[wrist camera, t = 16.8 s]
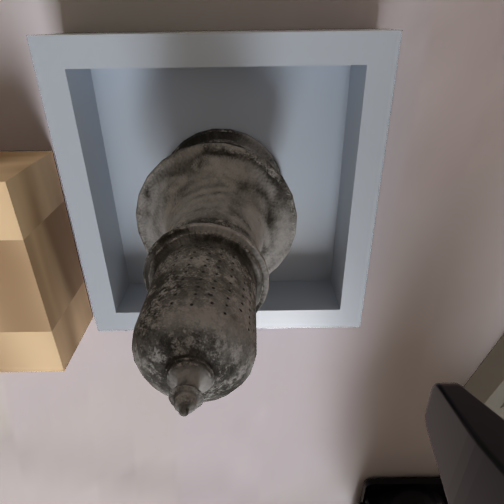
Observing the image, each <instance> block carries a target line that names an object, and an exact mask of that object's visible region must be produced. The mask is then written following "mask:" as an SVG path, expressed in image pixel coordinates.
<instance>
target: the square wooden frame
mask: <svg viewBox="0 0 504 504" xmlns="http://www.w3.org/2000/svg"><path fill="white" fill-rule="evenodd" d="M92 318H93V315H92V311H91V307H90V303H89V298H88V294H87V290H86V286H85V282H84V278H83V274H82V270H81V266H80V262H79V258H78V254H77V249H76V245H75V241H74V237H73V233H72V229H71V225H70V221H69V217H68V213H67V209H66V205H65V200H64V196H63V192H62V188H61V184H60V180H59V176H58V172H57V168H56V164H55V160H54V155H53V151H6V152H0V372H55V371H65V369H66V367H67V365H68V363H69V361H70V359H71V358H72V356H73V354H74V352H75V350H76V348H77V346H78V344H79V342H80V341H81V339H82V337H83V335H84V333H85V331H86V329H87V327H88V325H89V324H90V322H91V320H92Z"/></svg>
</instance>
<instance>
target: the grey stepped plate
mask: <svg viewBox="0 0 504 504" xmlns="http://www.w3.org/2000/svg"><path fill="white" fill-rule="evenodd" d="M464 388H465V389H466V390H468V391H469V392H470V393H471V394H473V395H474V396H475V397H476V398H478V399H479V400H480V401H481V402H483V403H484V404H485V405H486V406H488V407H489V408H490V409H491V410H493V411H494V412H495V413H496V414H498V415H499V416H500V417H501V418H503V419H504V334H503V336H502V337H501V338H500V340H499V341H498V342H497V344H496V345H495V346H494V348H493V349H492V350H491V352H490V353H489V354H488V356H487V357H486V358H485V359H484V361H483V362H482V363H481V365H480V366H479V367H478V369H477V370H476V371H475V373H474V374H473V375H472V377H471V378H470V379H469V381H468V382H467V383H466V385H465V386H464Z"/></svg>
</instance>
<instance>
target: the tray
mask: <svg viewBox="0 0 504 504" xmlns="http://www.w3.org/2000/svg"><path fill="white" fill-rule="evenodd" d="M401 36H402V30H388V29H336V30H266V31H195V32H124V33H61V34H44V35H27V41H28V45H29V49H30V53H31V57H32V61H33V65H34V69H35V74H36V78H37V82H38V86H39V90H40V94H41V98H42V102H43V107H44V111H45V115H46V119H47V123H48V127H49V131H50V135H51V139H52V144H53V148H54V152H55V156H56V160H57V164H58V168H59V172H60V177H61V181H62V185H63V189H64V193H65V197H66V201H67V205H68V210H69V214H70V218H71V222H72V226H73V230H74V234H75V238H76V243H77V247H78V251H79V255H80V259H81V263H82V267H83V271H84V276H85V280H86V284H87V288H88V292H89V296H90V300H91V304H92V309H93V313H94V317H95V321H96V325H97V329H98V331H115V330H134V327H135V324H136V322H137V319H138V317H139V314H140V311H141V309H142V306H143V304H144V301H145V298H146V296H147V293H148V292H147V290H146V288H145V282H144V276H143V271H144V265H145V259H146V257H147V255H148V252H147V251H146V249H145V247H144V244H143V242H142V240H141V238H140V235H139V233H138V227H137V220H136V208H137V201H138V195H139V192H140V190H141V188H142V186H143V184H144V182H145V180H146V178H147V176H148V175H149V174H150V172H151V171H152V170H153V169H154V168H155V167H156V166H157V165H158V164H159V163H160V162H161V161H162V160H163V159H165V158H166V157H168V156H170V155H171V154H172V152H173V151H174V150H175V149H176V148H177V147H178V146H179V145H180V144H181V143H182V142H183V141H184V140H186V139H187V138H189V137H191V136H192V135H194V134H196V133H198V132H202V131H206V130H210V129H232V130H236V131H239V132H243V133H246V134H248V135H249V136H251V137H253V138H254V139H256V140H258V141H260V142H261V143H262V144H263V145H264V146H265V147H266V148H267V149H268V150H269V151H270V152H271V153H272V155H273V157H274V159H275V161H276V163H277V164H278V166H279V169H280V173H281V175H282V176H283V178H284V180H285V182H286V183H287V185H288V187H289V189H290V191H291V192H292V194H293V199H294V203H295V208H296V212H297V224H296V235H295V237H294V240H293V243H292V246H291V248H290V251H289V253H288V254H287V255H286V257H285V258H284V259H283V261H282V262H281V264H280V265H279V266H278V267H277V268H276V269H275V270H273V271H272V272H271V273H270V274H269V290H268V293H267V296H266V299H265V302H264V303H263V305H262V306H261V307H260V309H259V310H258V312H257V313H256V329H259V328H331V327H360V324H361V317H362V310H363V303H364V296H365V289H366V282H367V275H368V268H369V261H370V254H371V247H372V240H373V233H374V226H375V219H376V211H377V204H378V197H379V190H380V183H381V176H382V169H383V162H384V155H385V148H386V141H387V134H388V127H389V120H390V113H391V106H392V99H393V92H394V85H395V78H396V71H397V64H398V57H399V50H400V43H401Z"/></svg>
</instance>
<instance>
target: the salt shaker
mask: <svg viewBox="0 0 504 504" xmlns="http://www.w3.org/2000/svg"><path fill="white" fill-rule="evenodd" d="M136 220H137V227H138V233H139V235H140V238H141V240H142V242H143V244H144V247H145V249H146V251H147V252H148V255H147V257H146V259H145V265H144V271H143V276H144V282H145V288H146V290H147V292H148V293H147V296H146V298H145V301H144V304H143V306H142V309H141V311H140V314H139V317H138V319H137V322H136V324H135V327H134V333H133V339H132V351H133V357H134V361H135V363H136V365H137V367H138V369H139V370H140V372H141V374H142V375H143V376H144V378H145V379H146V380H147V381H148V382H149V383H150V384H151V385H152V386H153V387H154V388H155V389H157V390H158V391H160V392H161V393H163V394H165V395H167V396H169V400H170V402H171V404H172V405H174V407H175V409H176V410H177V411H178V412H179V414H180V415H181V416H187V415H188V414H189V413H191V412H193V411H194V410H195V409H197V408H198V407H199V406H201V405H202V403H203V402H206V401H212V400H216V399H219V398H221V397H224V396H226V395H228V394H229V393H230V392H232V391H233V390H235V389H236V388H237V387H239V386H240V385H241V384H242V383H243V382H244V381H245V380H246V378H247V377H248V376H249V374H250V372H251V369H252V367H253V364H254V361H255V357H256V313H257V312H258V310H259V309H260V307H261V306H262V305H263V303H264V302H265V299H266V296H267V293H268V290H269V274H270V273H271V272H272V271H273V270H275V269H276V268H277V267H278V266H279V265H280V264H281V262H282V261H283V259H284V258H285V257H286V255H287V254H288V253H289V251H290V248H291V246H292V243H293V240H294V237H295V235H296V224H297V212H296V208H295V203H294V199H293V194H292V192H291V191H290V189H289V187H288V185H287V183H286V182H285V180H284V178H283V176H282V175H281V173H280V169H279V166H278V164H277V163H276V161H275V159H274V157H273V155H272V153H271V152H270V151H269V150H268V149H267V148H266V147H265V146H264V145H263V144H262V143H261V142H260V141H258V140H256V139H254V138H253V137H251V136H249V135H248V134H246V133H243V132H239V131H236V130H232V129H210V130H206V131H202V132H198V133H196V134H194V135H192V136H191V137H189V138H187V139H186V140H184V141H183V142H182V143H181V144H180V145H179V146H178V147H177V148H176V149H175V150H174V151H173V152H172V154H171V155H170V156H168V157H166V158H165V159H163V160H162V161H161V162H160V163H159V164H158V165H157V166H156V167H155V168H154V169H153V170H152V171H151V172H150V174H149V175H148V176H147V178H146V180H145V182H144V184H143V186H142V188H141V190H140V192H139V195H138V201H137V208H136Z"/></svg>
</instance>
